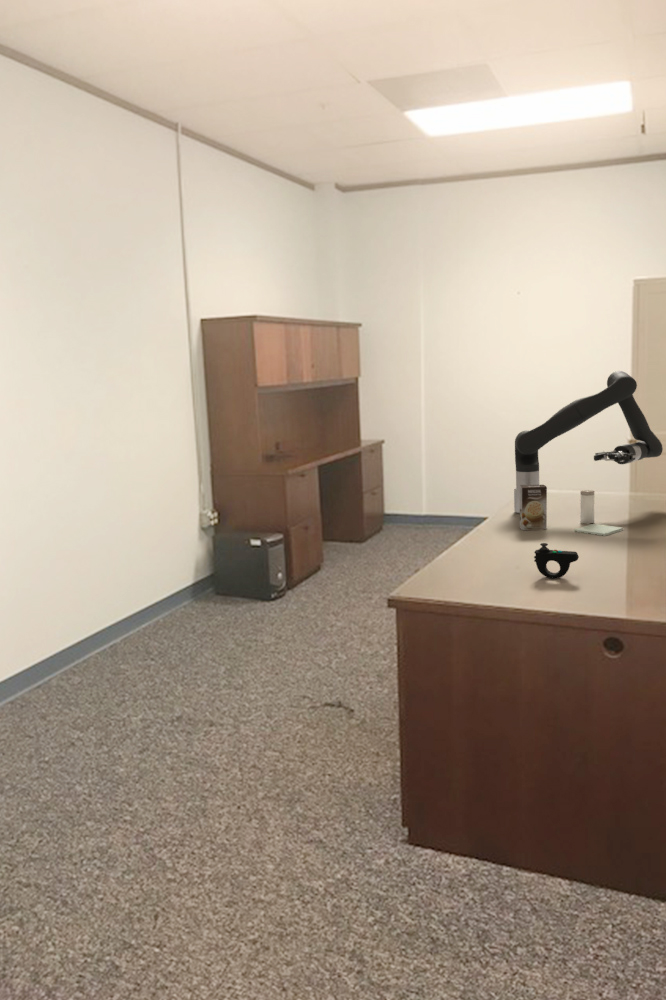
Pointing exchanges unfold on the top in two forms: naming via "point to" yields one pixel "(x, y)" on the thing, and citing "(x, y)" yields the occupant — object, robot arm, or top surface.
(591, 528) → the sage pad
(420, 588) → the top surface
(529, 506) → the coffee box
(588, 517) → the ceramic jar
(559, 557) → the controller
